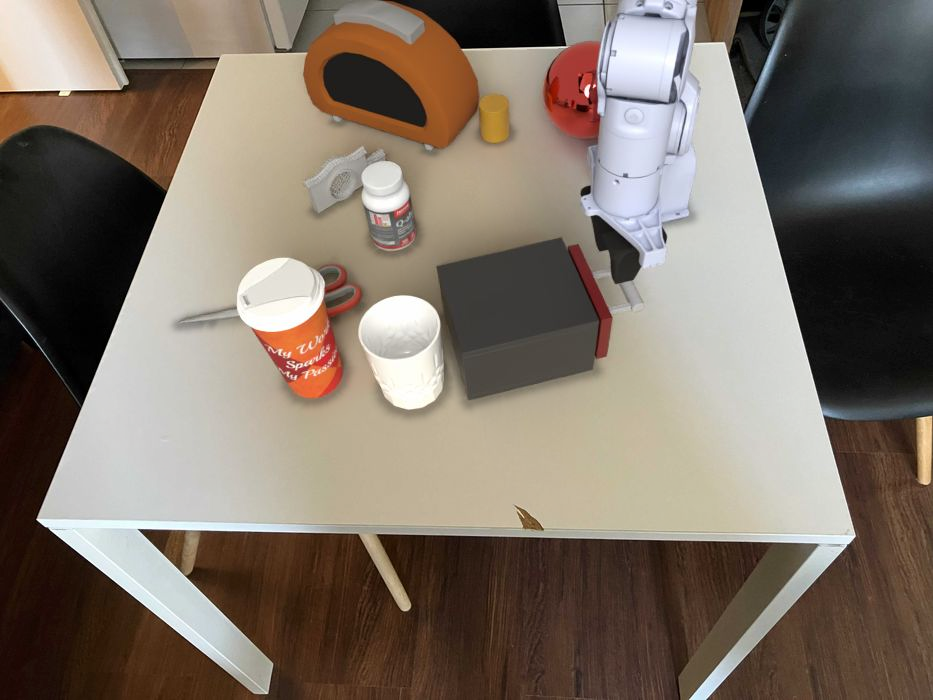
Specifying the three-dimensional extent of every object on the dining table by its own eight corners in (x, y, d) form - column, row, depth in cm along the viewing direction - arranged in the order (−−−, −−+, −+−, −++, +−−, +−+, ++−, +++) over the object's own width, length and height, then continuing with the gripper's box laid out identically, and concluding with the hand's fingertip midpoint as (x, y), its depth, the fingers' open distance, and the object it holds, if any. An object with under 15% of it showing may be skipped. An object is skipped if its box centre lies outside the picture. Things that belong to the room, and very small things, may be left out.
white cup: (422, 427, 74) (409, 373, 65) (361, 394, 76) (341, 339, 68) (463, 371, 77) (455, 313, 69) (403, 342, 80) (389, 283, 72)
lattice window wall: (382, 164, 97) (374, 128, 93) (390, 170, 97) (383, 134, 92) (310, 210, 93) (298, 175, 88) (318, 217, 92) (307, 181, 88)
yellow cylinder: (505, 122, 101) (504, 91, 97) (513, 139, 98) (512, 108, 94) (477, 128, 100) (475, 97, 96) (484, 145, 98) (482, 115, 94)
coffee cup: (292, 420, 75) (247, 335, 63) (268, 363, 80) (221, 274, 67) (366, 386, 77) (335, 297, 65) (338, 333, 81) (304, 240, 69)
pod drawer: (612, 275, 82) (618, 233, 77) (647, 347, 76) (656, 307, 71) (468, 310, 81) (464, 269, 75) (492, 385, 75) (489, 347, 69)
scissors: (178, 320, 84) (173, 312, 83) (349, 262, 87) (346, 254, 86) (188, 370, 80) (183, 362, 79) (367, 307, 83) (365, 299, 82)
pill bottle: (410, 255, 87) (398, 194, 79) (366, 250, 88) (350, 189, 80) (422, 221, 91) (411, 159, 83) (378, 217, 92) (364, 155, 83)
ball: (547, 99, 103) (549, 19, 93) (632, 104, 101) (643, 24, 91) (535, 154, 96) (535, 74, 87) (625, 161, 94) (636, 80, 85)
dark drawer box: (559, 289, 83) (561, 237, 76) (592, 370, 76) (599, 320, 69) (444, 316, 82) (436, 265, 75) (468, 400, 75) (462, 353, 68)
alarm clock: (312, 117, 104) (279, 7, 91) (347, 83, 109) (320, -28, 95) (451, 161, 97) (438, 48, 83) (483, 122, 101) (475, 8, 87)
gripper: (559, 114, 65) (554, 222, 76) (616, 224, 56) (602, 327, 68) (633, 98, 65) (618, 208, 76) (701, 204, 57) (673, 310, 68)
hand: (615, 263), depth 72 cm, fingers open, 4 cm apart
